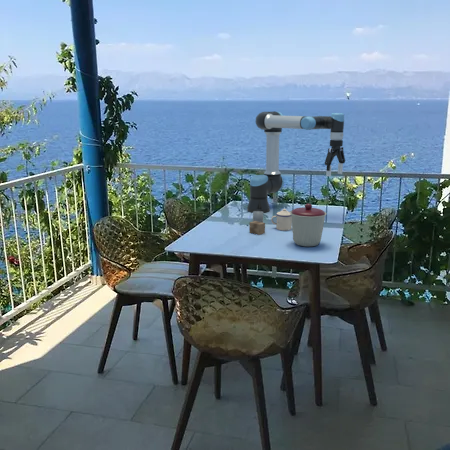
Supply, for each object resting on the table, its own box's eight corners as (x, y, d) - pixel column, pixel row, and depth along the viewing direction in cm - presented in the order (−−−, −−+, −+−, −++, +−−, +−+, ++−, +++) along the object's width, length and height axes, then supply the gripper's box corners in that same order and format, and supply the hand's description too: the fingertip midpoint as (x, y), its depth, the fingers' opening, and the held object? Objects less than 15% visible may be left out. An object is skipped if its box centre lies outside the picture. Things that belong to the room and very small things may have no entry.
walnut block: (249, 232, 262) (249, 222, 260) (255, 231, 265) (255, 220, 264) (259, 235, 257) (259, 224, 256) (264, 233, 261) (265, 223, 259)
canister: (300, 237, 253) (302, 198, 248) (331, 243, 242) (333, 203, 237) (282, 244, 240) (283, 204, 234) (313, 251, 228) (315, 209, 223)
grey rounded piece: (250, 225, 278) (250, 212, 276) (257, 223, 283) (257, 210, 281) (258, 227, 274) (258, 213, 272) (265, 225, 279) (265, 211, 277)
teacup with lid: (292, 227, 273) (293, 207, 270) (290, 231, 265) (291, 211, 262) (272, 226, 276) (273, 206, 274) (269, 229, 268) (270, 209, 265)
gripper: (331, 141, 270) (329, 177, 275) (352, 138, 287) (349, 173, 293) (319, 140, 275) (317, 176, 280) (341, 138, 292) (339, 172, 298)
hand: (334, 175), depth 286 cm, fingers open, 13 cm apart
